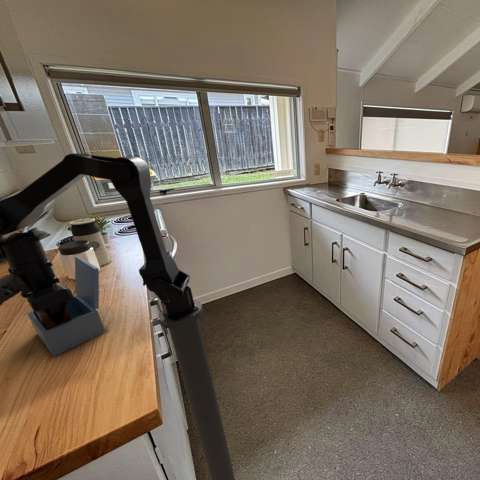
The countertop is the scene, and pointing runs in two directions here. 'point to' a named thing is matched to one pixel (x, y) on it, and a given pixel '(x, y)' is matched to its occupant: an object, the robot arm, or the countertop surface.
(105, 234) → the house plant
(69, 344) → the chest
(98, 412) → the countertop surface
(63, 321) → the block
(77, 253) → the jar
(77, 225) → the travel mug
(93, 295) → the lid
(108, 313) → the countertop surface
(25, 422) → the countertop surface
